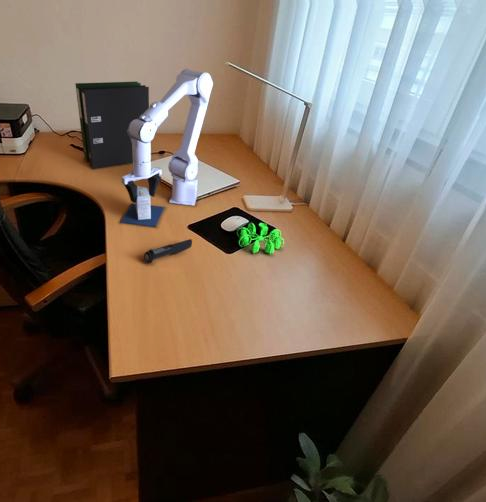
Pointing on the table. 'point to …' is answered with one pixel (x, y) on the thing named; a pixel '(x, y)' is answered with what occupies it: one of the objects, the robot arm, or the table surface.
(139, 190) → the medicine box
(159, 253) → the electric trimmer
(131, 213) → the cloth
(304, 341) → the table surface
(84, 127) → the binder
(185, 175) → the robot arm
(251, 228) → the green cluster
